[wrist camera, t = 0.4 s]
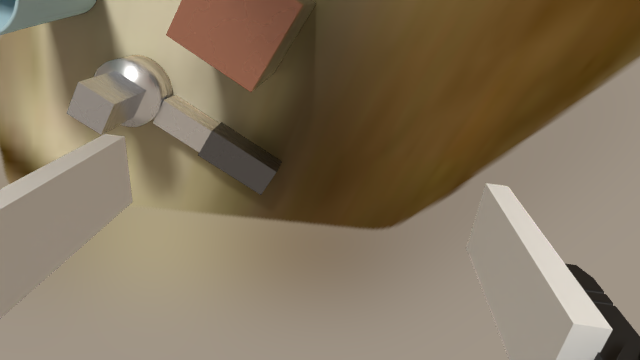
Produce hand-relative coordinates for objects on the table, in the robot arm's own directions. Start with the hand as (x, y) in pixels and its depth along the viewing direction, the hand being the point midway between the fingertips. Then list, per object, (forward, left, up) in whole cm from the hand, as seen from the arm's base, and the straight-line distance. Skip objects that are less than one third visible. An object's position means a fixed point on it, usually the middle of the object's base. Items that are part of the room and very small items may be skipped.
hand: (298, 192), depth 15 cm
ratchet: (+2, -15, -24) cm, 28 cm away
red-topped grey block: (-6, -6, -24) cm, 25 cm away
